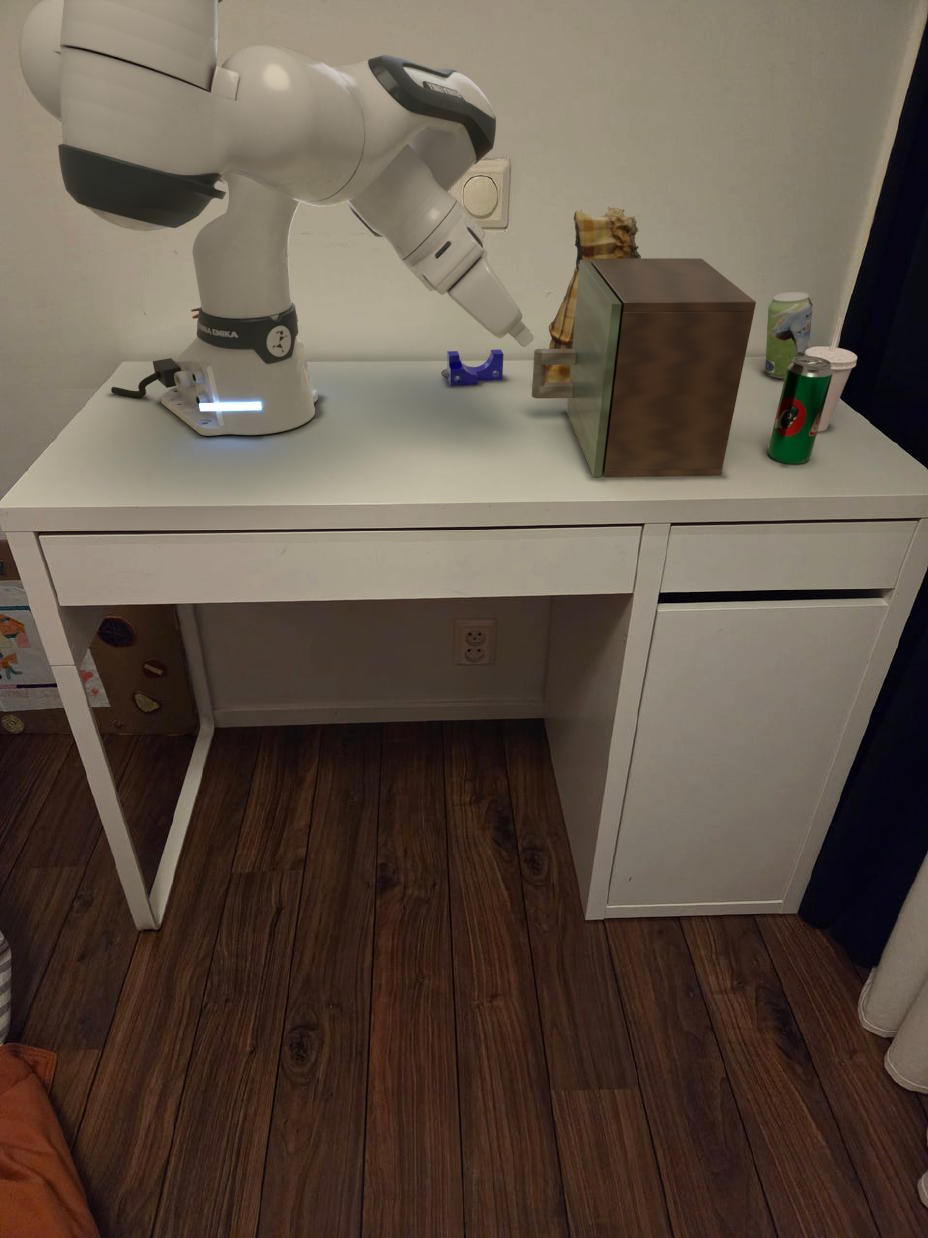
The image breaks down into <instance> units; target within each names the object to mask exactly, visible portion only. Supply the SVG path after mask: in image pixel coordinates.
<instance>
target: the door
mask: <svg viewBox="0 0 928 1238" xmlns="http://www.w3.org/2000/svg"><path fill="white" fill-rule="evenodd" d="M620 313H621V303H620V301H619V300H618V299H617V297H616V296H615V295H614V293H613V292H612V291H611V290H610V288H609V287H608V286H607V284H606V283H605V282H604V280H603V279H602V278H601V276H600V275H599V274H598V273H597V271H596V270H595V269H594V267H593V266H592V265H591V263H590V262H589V261H588V260H580V264H579V276H578V288H577V299H576V311H575V323H574V335H573V346H572V349H549V348H536V349H534V350H533V367H532V368H533V369H532V384H531V385H532V386H531V397H532V398H533V399H567V405H566V415H567V417H568V419H569V421H570V425H571V426H572V429H573V431H574V434H575V436H576V439H577V441H578V443H579V446H580V448H581V451H582V453H583V455H584V458H585V460H586V463H587V465H588V468H589V470H590V472H591V475H592V477H593V478H602V477H603V475H602V469H603V461H604V452H605V443H606V435H607V426H608V417H609V409H610V400H611V391H612V383H613V374H614V365H615V357H616V348H617V339H618V330H619V322H620ZM546 365H571V370H570V381H569V382H545V373H546Z"/></svg>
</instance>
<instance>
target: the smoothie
mask: <svg viewBox="0 0 928 1238" xmlns="http://www.w3.org/2000/svg"><path fill="white" fill-rule="evenodd" d="M836 321H837V322H836V326H835V329H834V332H833V333H834V334H833V337H832V341H831V346H825V345H824V346H823V345H822V346H821V345H820V346H812V347H811V346H810V347H809V349H807V350H806V351H805V355H804V356H814V357H820V358H823V359H826V360H828V361H830V362H831V364H832V366H831V370H832V373H833V375H832V379H831V382H830V386H829V390H828V394H827V397H826V401H825V405H824V409H823V412H822V416H821V420H820V424H819V427H818V431H817V433H818V432H824V431H827V429H828V427H829V424H830V422H831V419H832V417H833V415H834V412H835V411H836V408H837V405H838V403H839V400H840V398H841V396H842V393H843V391H844V388H845V386H846V383H847V382H848V379H849V376H850V374H851V372H852V369H854V368H856V366H857V360H858V356H857V354H855V353H854V352H852V351H851V350H849V349H845V348H840V347H837V343H838V339H839V336H840V331H841V327H842V324H843V321H844V317H842V316H839V317H837V320H836Z"/></svg>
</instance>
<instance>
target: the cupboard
mask: <svg viewBox="0 0 928 1238" xmlns="http://www.w3.org/2000/svg"><path fill="white" fill-rule="evenodd" d="M590 263H591V265H592V266H593V267H594V269H595V270H596V271H597V273H598V274H599V275H600V276H601V278H602V279H603V280H604V282H605V283H606V284H607V286H608V287H609V288H610V290H611V291H612V292H613V293H614V295H615V296H616V297H617V299H618V300H619V301H620V303H621V313H620V322H619V330H618V339H617V348H616V357H615V365H614V374H613V383H612V391H611V400H610V409H609V417H608V426H607V435H606V443H605V452H604V461H603V469H602V477H603V478H606V479H607V478H663V477H664V478H665V477H666V478H669V477H672V478H673V477H675V478H676V477H722V472H723V468H724V462H725V457H726V452H727V448H728V443H729V437H730V433H731V428H732V423H733V419H734V418H733V417H734V413H735V408H736V404H737V398H738V394H739V389H740V383H741V377H742V374H743V369H744V364H745V359H746V354H747V350H748V345H749V340H750V334H751V329H752V326H753V325H752V324H753V320H754V315H755V310H756V304H757V302H756V300H755V299H753V298H752V297H750V296H749V295H748V294H747V293H746V292H744V291H743V290H742V289H741V288H739V286H737V285H736V284H734V283H733V282H731V280H729V279H728V278H727V277H726V276H724V275H723V274H722V273H720V272H719V271H718V270H717V269H715V268H714V267H713V266H712V265H711V264H709V263H708V262H707V261H705V260H704V259H703V258H701V257H700V258H696V257H695V258H694V257H693V258H691V257H689V258H679V257H678V258H673V257H672V258H664V257H663V258H662V257H661V258H657V257H656V258H655V257H653V258H649V257H648V258H646V257H645V258H643V257H641V258H591V259H590Z"/></svg>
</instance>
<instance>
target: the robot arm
mask: <svg viewBox="0 0 928 1238" xmlns="http://www.w3.org/2000/svg"><path fill="white" fill-rule="evenodd" d="M222 2H224V1H223V0H41V1H39V2H38V3H37V4H36V5H35V6H34V7H33V8H32V9H31V10H30V11H29V12H28V14H27V16H26V17H25V19H24V21H23V23H22V25H21V29H20V33H19V38H18V58H19V59H18V60H19V64H20V69H21V73H22V76H23V78H24V81H25V83H26V86H27V88H28V89H29V91H30V93H31V94H32V95H33V97H34V99H35V100H36V101H37V103H38V104H39V105H40V106H41V108H43V109H44V110H45V111H46V112H48V114H49V115H51V116H52V117H53V118H55V119H56V120H58V121H59V122H60V123H61V137H62V143H60V144H58V145H57V148H58V158H59V159H58V160H59V165H60V172H61V177H62V181H63V185H64V188H65V191H66V192H67V193H68V194H69V195H70V197H71V198H72V199H73V200H74V201H75V202H76V203H77V204H79V205H81V206H84V207H85V208H87V209H88V210H89V211H90V212H92V213H93V214H94V215H96V216H97V217H98V218H100V219H102V220H104V221H106V222H108V223H110V224H112V225H115V226H117V227H119V228H124V229H126V230H127V229H128V230H132V231H138V232H154V231H160V230H164V229H168V228H171V229H177V228H180V227H182V226H183V225H186V224H187V223H189V222H191V221H192V220H194V219H196V218H197V217H200V215H201V214H202V212H203V211H204V210H205V209H206V207H208V205H209V204H210V203H211V202H212V200H213V199H219V200H224V198H225V196H226V194H227V192H226V191H223V190H221V189H218V188H216V187H215V185H216V184H217V185H227V187H228V188H227V189H228V204H227V208H226V212H225V213H223V214H221V215H219V216H217V217H216V218H214V219H212V220H211V221H209V222H208V223H206V224H205V225H203V226H202V228H201V229H199V231H198V233H197V235H196V236H195V239H194V242H193V245H192V258H193V265H194V270H195V271H194V272H195V277H196V284H197V291H198V295H199V301H200V307H197V308H192V309H191V310H190V312H194V313H195V312H198V313H196V314H195V315H192V316H191V317H192V319H194V320H195V319H197V322H196V323H197V324H196V337H195V338H194V340H193V341H192V342H191V343H190V344H189V345H188V346H187V347H186V348H185V349H184V350H183V351H182V352H181V353H180V354H178V356H177V357H176V359H175V360H174V359H173V358H171V357H169V358H162V359H156V360H153V361H152V366H153V370H154V373H152V374H150V375H148V376H146V377H145V378H143V379H142V380H140V381H139V383H138V386H137V388H138V390H132V389H126V388H122V387H118V386H111V388H110V392H111V393H112V394H116V395H120V396H124V397H129V398H136V399H139V398H144V397H145V396H146V395H147V390H146V387H148V385H150V384H152V383H154V382H156V381H158V382H159V383H160V384H161V385H163V386H164V387H165V388H166V389H168V388H171V389H169V390H167V391H166V392H163V394H161V396H160V401H161V404H162V405H163V406H164V407H165V408H166V409H168V410H169V411H170V412H172V413H173V414H174V415H176V417H178V418H179V419H180V420H181V421H183V422H184V423H186V424H187V426H189V427H190V428H191V429H193V430H194V431H196V432H197V433H198V434H199V435H201V436H209V437H210V436H212V437H213V436H221V435H222V436H223V435H242V436H261V435H269V434H270V435H271V434H277V433H281V432H285V431H290V430H293V429H296V428H299V427H301V426H302V425H305V424H306V423H308V422H309V421H311V420H312V419H313V418H314V416H315V415H316V408H315V404H316V402H317V401H318V400H319V395H318V391H317V390H316V389H314V388H312V383H311V378H310V373H309V372H310V371H309V367H308V362H307V357H306V352H305V347H304V344H303V342H302V341H301V340H300V339H299V338H297V337H298V335H299V324H298V322H299V317H298V314H297V309H296V304H295V303H294V302H293V301H292V292H291V291H292V290H291V279H290V278H291V277H290V259H289V255H290V254H289V244H290V242H289V241H290V233H291V228H292V225H293V220H294V217H295V215H296V212H297V210H298V207H299V206H300V203H301V204H305V205H308V206H314V207H333V206H337V205H341V204H343V203H346V202H347V203H348V207H349V209H350V211H351V212H352V213H353V214H354V216H355V217H356V218H357V219H358V220H359V222H361V223H362V224H363V225H364V227H366V229H368V231H369V232H370V233H371V234H372V235H373V236H374V237H378V238H383V239H384V240H386V241H387V242H388V244H390V246H391V247H392V249H393V251H394V253H395V255H396V257H397V258H398V259H399V261H401V262H402V263H403V264H404V265H405V267H406V268H407V269H408V270H409V271H410V272H411V273H412V274H413V275H414V277H416V279H418V280H419V281H420V283H421V284H422V285H423V286H424V287H425V288H426V289H427V291H430V292H432V291H435V292H437V293H438V294H439V295H441V296H444V295H445V294H447V295H448V296H449V298H451V300H453V301H454V302H455V303H456V304H457V305H458V306H459V307H461V308H462V310H464V311H465V312H466V313H467V314H468V315H469V316H471V317H472V319H474V320H475V321H476V322H477V323H478V324H479V325H480V326H482V327H483V328H484V329H485V330H486V331H488V332H489V333H490V334H492V335H493V336H494V337H496V338H497V339H503V338H504V337H505V336H506V335H510V336H511V337H512V338H513V340H515V341H516V342H517V343H518V345H519V346H521V347H522V348H526V347H527V346H528V345H529V344H530V343H532V342H533V340H534V334H533V333H532V332H531V330H530V329H529V328H528V326H526V324H525V323H524V322H523V321H522V319H523V314H522V311H521V309H520V307H519V306H518V305H517V303H516V302H515V300H514V298H513V297H512V296H511V294H510V293H509V291H508V290H507V288H506V287H505V286H504V284H503V283H502V281H501V280H500V278H499V277H498V275H497V274H496V273H495V271H494V270H493V268H492V267H491V265H490V263H489V261H488V259H487V255H488V251H487V250H486V249H485V248H484V238H485V236H486V232H485V231H486V230H484V229H483V228H482V227H481V225H480V224H479V223H478V222H477V221H476V220H475V218H474V217H473V216H472V215H471V213H470V212H469V211H467V209H466V208H465V207H464V206H463V205H462V203H461V202H460V201H459V199H457V197H456V196H454V195H453V194H452V193H450V191H451V190H452V188H454V186H455V185H456V184H457V183H458V182H459V181H460V180H461V179H462V178H463V177H464V176H465V175H466V174H467V173H468V172H469V170H470V169H471V168H472V167H473V166H475V165H477V164H478V163H479V162H480V161H481V160H482V159H483V158H484V157H485V156H486V155H488V154H489V153H490V152H491V151H492V150H493V149H494V146H495V139H496V130H497V117H496V115H495V113H494V110H493V107H492V105H491V103H490V101H489V100H488V97H487V96H486V95H485V94H484V92H483V90H481V89H480V87H479V86H478V85H477V84H476V83H475V82H474V81H473V80H471V79H470V78H469V77H467V76H466V75H465V74H462V73H460V72H459V71H457V69H452V68H431V67H429V66H425V65H423V64H419V63H417V62H414V61H411V60H407V59H404V58H401V57H398V56H393V55H390V54H381V55H379V56H375V57H372V58H369V59H368V60H365V61H361V62H357V63H353V64H352V63H351V64H347V65H342V66H329V65H327V64H326V63H324V62H323V61H321V60H318V59H317V58H315V57H313V56H310V55H309V54H306V53H303V52H301V51H298V50H295V49H292V48H288V47H284V46H281V45H280V46H279V45H275V44H274V45H273V44H265V43H261V44H252V45H247V46H245V47H243V48H240V49H238V50H237V51H235V52H234V53H233V54H231V55H229V57H227V59H226V60H224V62H223V63H222V64H221V66H219V65H218V56H219V55H218V54H219V24H220V23H219V4H221V3H222Z"/></svg>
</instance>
